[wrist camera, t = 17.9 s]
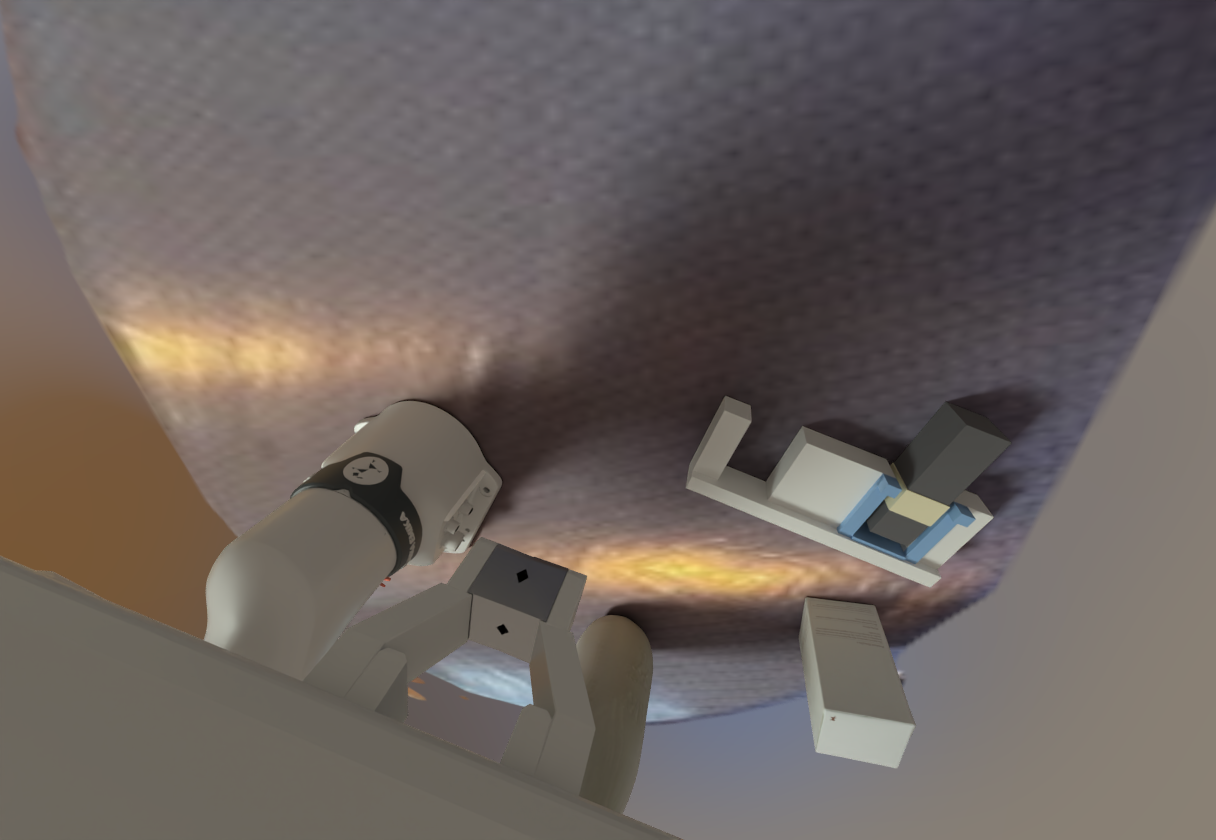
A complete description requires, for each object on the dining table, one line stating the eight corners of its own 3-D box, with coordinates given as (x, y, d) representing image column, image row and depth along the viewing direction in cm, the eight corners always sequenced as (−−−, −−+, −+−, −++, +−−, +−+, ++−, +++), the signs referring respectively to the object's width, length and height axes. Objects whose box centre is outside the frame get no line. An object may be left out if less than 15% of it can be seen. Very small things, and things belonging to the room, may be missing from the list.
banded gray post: (895, 517, 43) (909, 548, 40) (858, 502, 44) (869, 531, 40) (987, 417, 37) (1013, 443, 34) (944, 400, 37) (965, 425, 34)
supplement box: (796, 637, 54) (811, 753, 43) (804, 594, 51) (823, 709, 40) (865, 648, 52) (898, 772, 42) (878, 604, 49) (918, 727, 38)
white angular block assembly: (915, 555, 45) (932, 592, 41) (689, 464, 46) (685, 491, 42) (977, 495, 40) (1003, 530, 36) (725, 395, 42) (724, 419, 38)
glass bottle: (670, 647, 61) (629, 956, 37) (605, 653, 65) (530, 934, 41) (640, 596, 57) (572, 899, 34) (573, 606, 61) (470, 882, 38)
